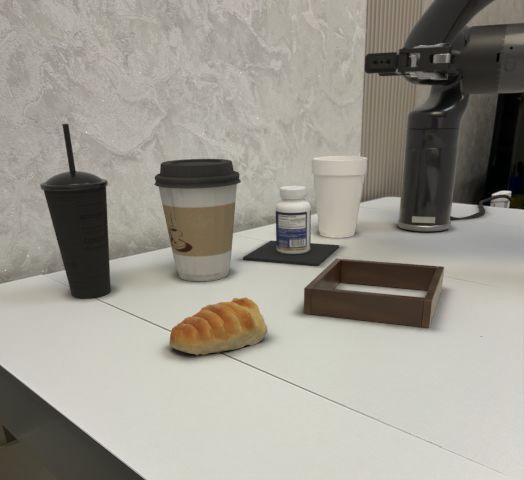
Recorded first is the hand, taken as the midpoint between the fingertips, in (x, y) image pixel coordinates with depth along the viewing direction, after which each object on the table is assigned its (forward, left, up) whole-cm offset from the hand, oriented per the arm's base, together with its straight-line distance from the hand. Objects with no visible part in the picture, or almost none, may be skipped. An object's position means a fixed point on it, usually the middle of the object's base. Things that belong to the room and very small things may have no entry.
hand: (372, 65), depth 72 cm
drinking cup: (+27, -29, -26) cm, 48 cm away
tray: (+19, +6, -26) cm, 33 cm away
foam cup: (-16, -8, -26) cm, 32 cm away
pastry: (+36, -6, -26) cm, 45 cm away
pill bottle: (0, -11, -26) cm, 28 cm away
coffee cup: (+15, -19, -26) cm, 36 cm away
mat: (0, -11, -26) cm, 28 cm away
